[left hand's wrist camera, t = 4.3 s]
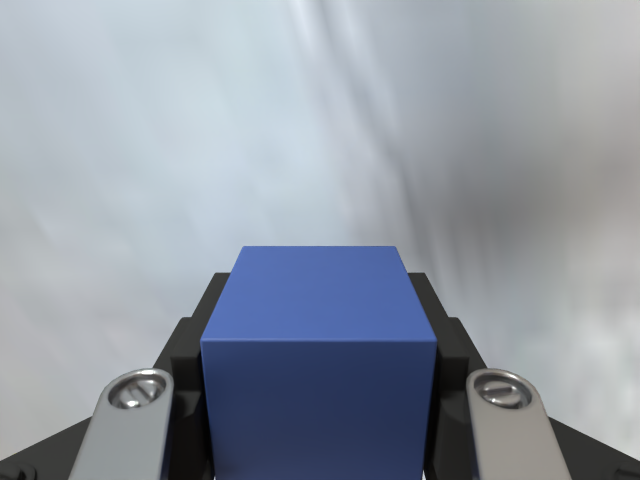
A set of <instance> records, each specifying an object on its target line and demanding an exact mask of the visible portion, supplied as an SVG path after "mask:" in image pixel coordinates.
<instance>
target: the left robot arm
mask: <svg viewBox="0 0 640 480" xmlns="http://www.w3.org/2000/svg"><path fill="white" fill-rule="evenodd" d="M230 274H231V273H215V274H214V276H213V278H212V280H211V281H210V283H209V285H208V287H207V289H206V291H205V293H204V294H203V296H202V298H201V300H200V302H199V304H198V306H197V308H196V309H195V311H194V313H193V315H192V317H184V318H181V320H180V321H179V323H178V324H177V326H176V328H175V330H174V331H173V333H172V335H171V337H170V338H169V340H168V342H167V343H166V345H165V347H164V349H163V350H162V352H161V354H160V356H159V357H158V359H157V361H156V363H155V364H154V366H153V368H145V369H139V370H134V371H131V372H128V373H126V374H123V375H121V376H119V377H118V378H116V379H114V380H113V381H111V382H110V383H109V384H108V385H107V386H106V387H105V388H104V390H103V391H102V393H101V395H100V397H99V400H98V402H97V405H96V408H95V410H94V413H93V416H91V417H89V418H87V419H85V420H83V421H81V422H79V423H77V424H75V425H73V426H71V427H69V428H67V429H65V430H63V431H61V432H59V433H57V434H55V435H53V436H51V437H48V438H46V439H44V440H42V441H40V442H38V443H36V444H34V445H32V446H30V447H28V448H26V449H24V450H22V451H20V452H18V453H16V454H14V455H12V456H10V457H8V458H6V459H4V460H2V461H0V480H214V477H215V470H214V461H213V452H212V443H211V434H210V425H209V417H208V408H207V399H206V390H205V381H204V372H203V364H202V355H201V346H200V339H201V337H202V335H203V332H204V330H205V328H206V326H207V324H208V322H209V319H210V317H211V315H212V313H213V311H214V308H215V306H216V304H217V302H218V300H219V298H220V295H221V293H222V291H223V289H224V287H225V285H226V282H227V280H228V278H229V276H230ZM407 274H408V276H409V278H410V280H411V282H412V285H413V287H414V289H415V291H416V294H417V296H418V298H419V300H420V302H421V305H422V307H423V309H424V311H425V314H426V316H427V318H428V320H429V323H430V325H431V327H432V329H433V331H434V334H435V336H436V338H437V349H436V359H435V368H434V377H433V386H432V395H431V404H430V413H429V422H428V431H427V440H426V449H425V458H424V467H423V470H424V474H425V478H426V480H640V461H638V460H636V459H634V458H632V457H630V456H628V455H626V454H624V453H622V452H620V451H618V450H616V449H614V448H612V447H610V446H608V445H606V444H604V443H602V442H599V441H597V440H595V439H593V438H591V437H589V436H587V435H585V434H583V433H581V432H579V431H577V430H575V429H573V428H571V427H569V426H567V425H565V424H563V423H561V422H559V421H557V420H555V419H553V418H550V417H548V416H547V413H546V410H545V408H544V405H543V402H542V400H541V397H540V395H539V393H538V391H537V390H536V388H535V387H534V386H533V385H532V384H531V383H530V382H529V381H527V380H526V379H524V378H522V377H521V376H519V375H517V374H514V373H512V372H509V371H506V370H501V369H495V368H487V366H486V365H485V363H484V361H483V359H482V358H481V356H480V354H479V353H478V351H477V349H476V347H475V346H474V344H473V342H472V340H471V339H470V337H469V335H468V333H467V332H466V330H465V328H464V327H463V325H462V323H461V321H460V320H459V319H458V318H456V317H448V315H447V314H446V312H445V310H444V308H443V306H442V304H441V302H440V301H439V299H438V297H437V295H436V293H435V291H434V289H433V287H432V286H431V284H430V282H429V280H428V278H427V276H426V274H425V273H407Z"/></svg>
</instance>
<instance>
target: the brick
mask: <svg viewBox="0 0 640 480" xmlns="http://www.w3.org/2000/svg"><path fill="white" fill-rule="evenodd" d="M200 346H201V355H202V364H203V372H204V381H205V390H206V399H207V408H208V417H209V425H210V434H211V443H212V452H213V461H214V470H215V478H216V480H422V476H423V467H424V458H425V449H426V440H427V431H428V422H429V413H430V404H431V395H432V386H433V377H434V368H435V359H436V349H437V338H436V336H435V334H434V331H433V329H432V327H431V325H430V323H429V320H428V318H427V316H426V314H425V311H424V309H423V307H422V305H421V302H420V300H419V298H418V296H417V294H416V291H415V289H414V287H413V285H412V282H411V280H410V278H409V276H408V274H407V271H406V269H405V267H404V265H403V262H402V260H401V258H400V256H399V253H398V251H397V249H396V247H395V246H244V247H243V248H242V250H241V252H240V254H239V256H238V258H237V261H236V263H235V265H234V267H233V269H232V271H231V274H230V276H229V278H228V280H227V282H226V285H225V287H224V289H223V291H222V293H221V295H220V298H219V300H218V302H217V304H216V306H215V308H214V311H213V313H212V315H211V317H210V319H209V322H208V324H207V326H206V328H205V330H204V332H203V335H202V337H201V339H200Z"/></svg>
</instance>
